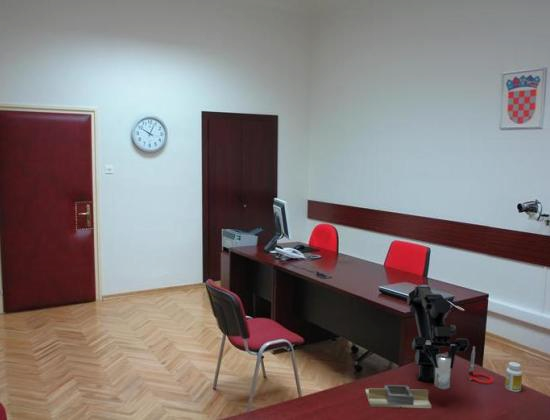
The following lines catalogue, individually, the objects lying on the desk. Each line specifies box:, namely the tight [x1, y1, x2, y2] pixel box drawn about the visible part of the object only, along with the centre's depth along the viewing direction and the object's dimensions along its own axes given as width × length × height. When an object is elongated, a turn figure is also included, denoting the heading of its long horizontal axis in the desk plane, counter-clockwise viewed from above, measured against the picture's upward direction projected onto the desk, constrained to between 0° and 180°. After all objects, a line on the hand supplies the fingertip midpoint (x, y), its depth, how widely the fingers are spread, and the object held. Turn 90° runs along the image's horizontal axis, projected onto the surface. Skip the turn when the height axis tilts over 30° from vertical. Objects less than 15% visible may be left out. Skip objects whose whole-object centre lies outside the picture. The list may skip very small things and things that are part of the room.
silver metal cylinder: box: [434, 353, 452, 390], centre depth 169 cm, size 5×5×10 cm
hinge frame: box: [364, 384, 432, 409], centre depth 173 cm, size 11×21×4 cm, turn 89°
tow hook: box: [468, 345, 495, 385], centre depth 190 cm, size 8×13×9 cm
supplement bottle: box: [504, 361, 523, 393], centre depth 182 cm, size 5×5×10 cm
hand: (444, 367), depth 167 cm, fingers closed on silver metal cylinder, 5 cm apart
